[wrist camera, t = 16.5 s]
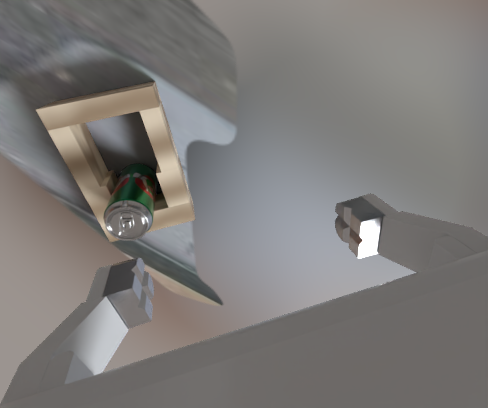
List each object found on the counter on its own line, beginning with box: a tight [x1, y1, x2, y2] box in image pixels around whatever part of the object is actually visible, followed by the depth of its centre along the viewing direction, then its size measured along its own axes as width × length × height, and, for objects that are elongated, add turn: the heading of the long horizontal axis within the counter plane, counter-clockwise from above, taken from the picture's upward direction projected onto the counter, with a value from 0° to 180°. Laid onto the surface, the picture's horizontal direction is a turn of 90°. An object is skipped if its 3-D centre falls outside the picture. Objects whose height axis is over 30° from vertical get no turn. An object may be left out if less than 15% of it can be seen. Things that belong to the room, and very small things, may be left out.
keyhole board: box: [36, 81, 195, 242], centre depth 35 cm, size 18×12×5 cm, turn 9°
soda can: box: [103, 164, 158, 241], centre depth 33 cm, size 5×5×12 cm
